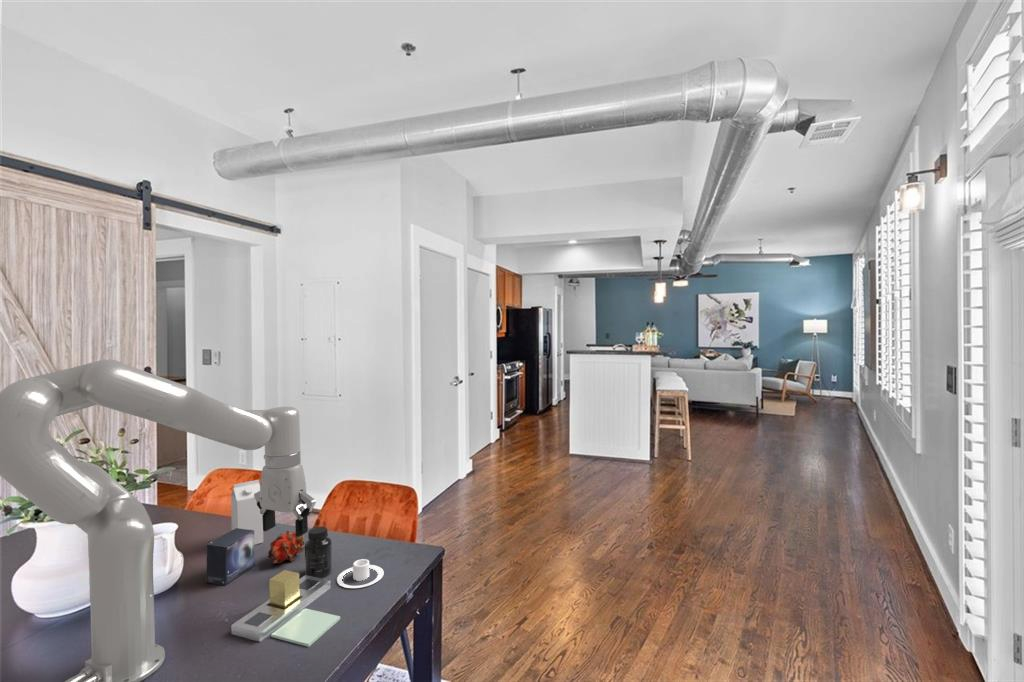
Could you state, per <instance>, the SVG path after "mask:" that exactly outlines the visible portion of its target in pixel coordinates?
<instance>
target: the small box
mask: <svg viewBox="0 0 1024 682" xmlns="http://www.w3.org/2000/svg"><path fill="white" fill-rule="evenodd" d="M252 568H255V545H254V530H247V529H240V528H236V529H234V530H232V529H231V531H228V532H226V533H225V534H223V535H221V536H219V537H217V538H215V539H213V540H211V541H209V542H208V543H206V583H207V584H214V585H221V586H227V585H229V584H230V583H231V582H233V581H234V580H236V579H238V578H239V577H240V576H242V575H243V574H245V573H247V572H248V571H249V570H251V569H252Z"/></svg>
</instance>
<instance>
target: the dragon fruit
mask: <svg viewBox="0 0 1024 682" xmlns="http://www.w3.org/2000/svg"><path fill="white" fill-rule="evenodd" d="M304 539H305V537H304V534H303V535H301V536H300V537H296V530H295V531H294V532H293V531H291V532H290V530H286V533H283V534H282V533H280V534H278V536H277V537H276V539H274V540H272V542H270V544H269V545H270V548H269V550H268V552H267V555H268V556H267V557H268V559H269V560H273V561H272V564H273V565H276V564H281V563H283V562H285V561H286V560H287V561H291V562H293V561H294V560H295V559H296V558H297V554H301V553H303V552H304V550H305V540H304ZM303 546H304V547H303ZM282 561H283V562H282Z"/></svg>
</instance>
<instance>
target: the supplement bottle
mask: <svg viewBox="0 0 1024 682" xmlns="http://www.w3.org/2000/svg"><path fill="white" fill-rule="evenodd" d="M307 533H308V535H307V537H308V538H307V539H308V540H306V542H304V547H305V548H304V571H305V572H304V573H305V575H307V576H312V577H317V578H322V577H323V578H325V577H327V576H328V574H329V575H330V574H331V573H332V571H333V553H332V552H333V548H332V547H333V545H332V543H333V542H332V539H331V538H330V537H329V533H328V527H326V526H315V527H313V528H310V529H308V531H307ZM323 578H322V579H323Z"/></svg>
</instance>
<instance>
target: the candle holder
mask: <svg viewBox="0 0 1024 682" xmlns="http://www.w3.org/2000/svg"><path fill="white" fill-rule="evenodd" d="M369 568H370V569H369ZM371 569H373V570H372V571H374V570H375V571H376V572H377V573H376V575H377V574H378V575H377V576H376V577H375V578H374V579H373V580H372V581H370V582H368V583H365V584H361V585H360V584H359V585H349V584H346V583H344V578H343V576H344V575H345V574H346V573H348V572H350V571H352V578H353V580H354V581H355V580H356V582H361V581H362V580H363V581H365V579H366V580H368V579H369V578H370V570H371ZM375 571H374V572H375ZM350 573H351V572H350ZM384 573H385V572H384V569H383V568H382V567H380V566H378V565H375V564H370V560H369V559H365V558H362V559H360V558H359V559H357V560H355V561H354V562H353V563H352V567H349V568H347V569H344V570H342V572H341V573H340V574H338V576H337V577H336V583H337V584H338V586H340V587H343V588H345V589H361V588H366V587H369V586H372V585H374V584H375V583H377V582H379V581H380V580H381V579H382V578H383V577H384ZM348 574H349V573H348ZM345 576H346V575H345ZM345 576H344V577H345ZM368 577H369V578H368ZM367 578H368V579H367ZM342 579H343V581H342ZM363 581H362V582H363Z"/></svg>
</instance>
